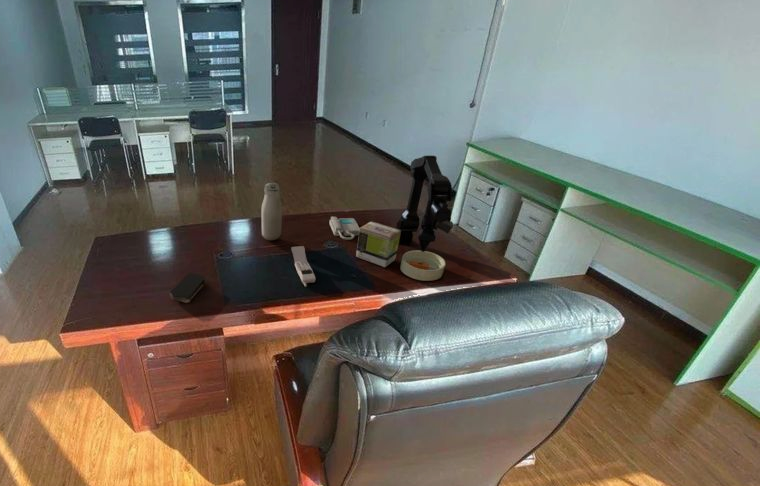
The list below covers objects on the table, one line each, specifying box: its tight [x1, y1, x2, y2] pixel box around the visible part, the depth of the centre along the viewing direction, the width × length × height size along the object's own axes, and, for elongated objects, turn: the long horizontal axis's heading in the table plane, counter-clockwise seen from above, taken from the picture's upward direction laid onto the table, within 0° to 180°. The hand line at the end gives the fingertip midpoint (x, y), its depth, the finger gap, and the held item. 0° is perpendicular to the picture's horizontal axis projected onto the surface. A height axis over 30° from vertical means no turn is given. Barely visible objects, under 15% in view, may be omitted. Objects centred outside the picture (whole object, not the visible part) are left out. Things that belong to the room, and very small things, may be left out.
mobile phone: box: [291, 245, 317, 288], centre depth 169 cm, size 6×6×25 cm
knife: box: [409, 261, 436, 270], centre depth 169 cm, size 11×3×3 cm, turn 67°
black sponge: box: [169, 272, 206, 304], centre depth 158 cm, size 16×8×4 cm, turn 160°
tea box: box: [355, 221, 401, 268], centre depth 175 cm, size 15×10×15 cm, turn 47°
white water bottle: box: [260, 182, 283, 241], centre depth 188 cm, size 10×10×28 cm
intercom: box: [329, 216, 361, 241], centre depth 200 cm, size 13×4×25 cm
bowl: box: [399, 249, 446, 282], centre depth 168 cm, size 17×17×6 cm
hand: (423, 246), depth 165 cm, fingers open, 9 cm apart
